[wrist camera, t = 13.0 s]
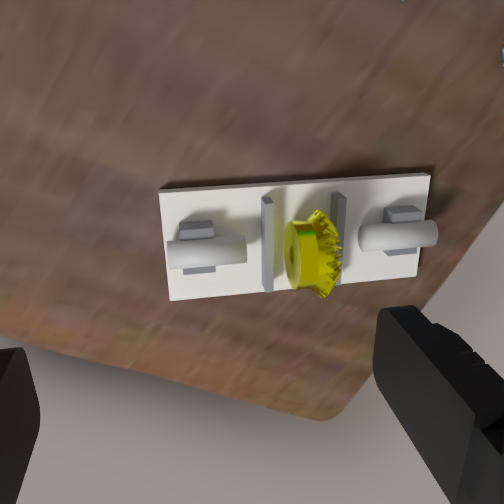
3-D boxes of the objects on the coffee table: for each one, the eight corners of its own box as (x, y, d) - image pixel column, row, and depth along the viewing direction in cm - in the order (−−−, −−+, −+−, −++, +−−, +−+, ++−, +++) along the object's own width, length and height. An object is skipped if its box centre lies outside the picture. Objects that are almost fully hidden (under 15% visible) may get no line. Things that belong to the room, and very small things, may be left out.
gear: (282, 199, 44) (306, 229, 36) (320, 197, 44) (351, 227, 37) (280, 275, 47) (301, 317, 40) (315, 272, 47) (343, 313, 40)
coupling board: (169, 295, 47) (170, 318, 43) (159, 189, 42) (158, 205, 38) (410, 271, 51) (432, 291, 47) (424, 172, 46) (449, 184, 42)
